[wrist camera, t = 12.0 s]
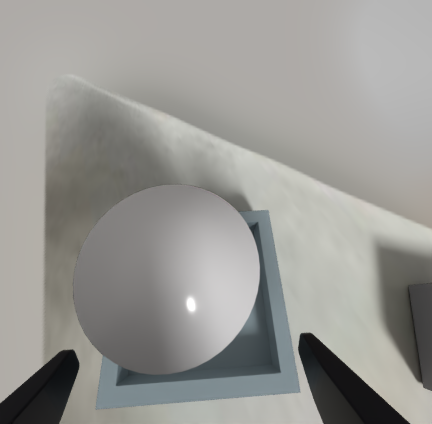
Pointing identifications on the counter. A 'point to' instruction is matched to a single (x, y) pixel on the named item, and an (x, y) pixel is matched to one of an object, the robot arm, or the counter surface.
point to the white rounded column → (166, 279)
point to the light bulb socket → (423, 328)
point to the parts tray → (230, 356)
